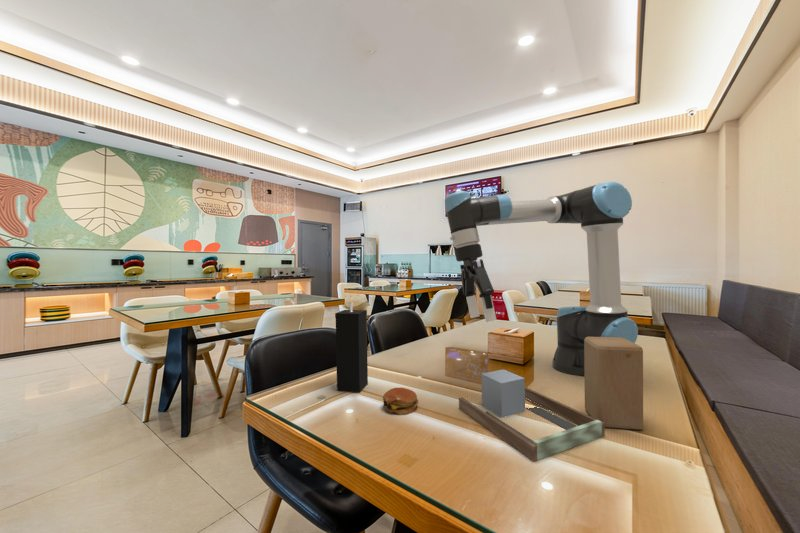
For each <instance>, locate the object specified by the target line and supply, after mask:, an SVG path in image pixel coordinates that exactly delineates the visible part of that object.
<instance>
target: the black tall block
mask: <svg viewBox="0 0 800 533" xmlns="http://www.w3.org/2000/svg"><path fill="white" fill-rule="evenodd" d="M348 308H349V309H343V310H341V311H337V312H335V313H334V314H335V315H334V317H335V318H334V319H335V352H336V354H335V356H336V358H335V359H336V361H335V362H336V363H335V364H336V391H339V392H348V393H349V392H350V393H361V392H362V391H363V389H364V388H365V387H366V386H367V385H369V377H368V376H369V374H368V373H369V372H368V371H369V370H368V366H369V365H368V364H369V363H368V321H367V318H368V317H367V316H368V310H367V309H353V308H354V301H351V302H348Z"/></svg>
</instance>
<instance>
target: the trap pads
mask: <svg viewBox="0 0 800 533" xmlns="http://www.w3.org/2000/svg"><path fill="white" fill-rule="evenodd" d="M526 410H528V408H527V409H526ZM530 410H531V411H530ZM528 411H530V412H532V413H534V414H535V415H537V416H539V415H540V417H541V416H542V417H541V418H543V417H544V418H543V419H545V418H546V419H545V420H547V419H548V420H547V421H549V420H550V421H549V422H550V423H553V424H554V423H555V425H556V424H557V426H559V427H560V428H563V430H568V429H571V428H574V427H577V426H578V425H577V424H575V423H573V422H571V421H569V420H567V419H565V418H563V417H561V416H559V415H558V416H557V414H554V415H552V414H553V412H551V411H549V410H547V409H545V408H543V407H540V408H537V407H534V408H529V410H528ZM485 412H486V413H487V414H489V415H490V416H492V417H493V418H495V419H496V420H498V421H500V422H501V423H503V424H504V425H506V426H507V427H509V428H510V429H512V430H514V431H515V432H517V433H518V434H520V435H521V436H523V437H524V438H526V439H528V440H529V441H531V442H532V443H533V441H534V440H532V439H531V438H530V437H528V436H526V435H525V434H523V433H521V432H520V431H518V430H517V429H515V428H514V427H513V426H510V425H509V424H507V423H505V422H504V421H503V420H502V419H499V418H498V417H497V416H494V415H493V414H492V413H490V412H488V411H485Z"/></svg>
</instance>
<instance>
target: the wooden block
mask: <svg viewBox="0 0 800 533" xmlns="http://www.w3.org/2000/svg"><path fill="white" fill-rule="evenodd" d="M583 376H584V409H585V411H586V412H587V414H589V416H591V417H593V418H595V419H597V420H599V421H602V422H604V423H605V428H612V429H613V428H615V429H626V430H639V431H641V430H643V429H644V350H643V347H642V346H641V345H639V344H636V342H635V343H633V342H630V341H628V340H626V339H624V338H619V337H586V338H585V340H584V375H583Z"/></svg>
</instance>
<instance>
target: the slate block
mask: <svg viewBox="0 0 800 533" xmlns="http://www.w3.org/2000/svg"><path fill="white" fill-rule="evenodd" d="M525 380H526V379H525V377H523V376H520V375H518V374H516V373H513V372H511V371H508V370H506V369H498V370H493V371H488V372H483V373H481V406H483V407H484V408H485V409H487V410H489V411H490V412H492V413H494V414H495V415H497V416H498V417H499V418H501V417H503V418H506V417H510V416H513V414H514V415H516V413H517V414H521V413H524V411H525V412H526V408H525V402H526V399H525V387H526V384H525ZM520 412H521V413H520ZM509 415H510V416H509ZM505 416H506V417H505Z"/></svg>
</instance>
